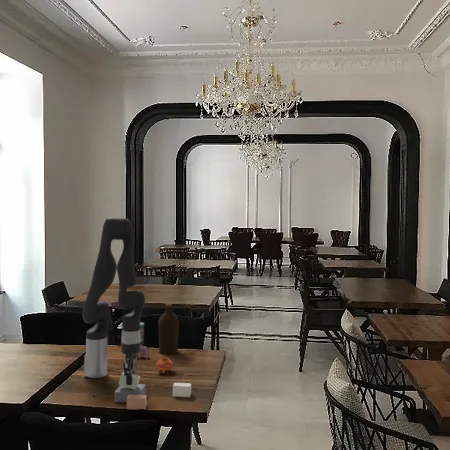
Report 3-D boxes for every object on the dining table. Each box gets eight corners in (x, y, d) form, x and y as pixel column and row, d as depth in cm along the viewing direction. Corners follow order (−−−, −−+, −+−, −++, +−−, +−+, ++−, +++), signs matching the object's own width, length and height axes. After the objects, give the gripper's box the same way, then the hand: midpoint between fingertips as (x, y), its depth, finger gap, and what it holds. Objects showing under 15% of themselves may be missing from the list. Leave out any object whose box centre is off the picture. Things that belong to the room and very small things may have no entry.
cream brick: (172, 396, 216) (172, 385, 216) (174, 393, 220) (174, 382, 219) (189, 397, 216) (189, 386, 215) (191, 394, 219) (191, 383, 219)
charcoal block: (114, 401, 209) (114, 392, 209) (121, 392, 219) (121, 383, 219) (139, 403, 208) (139, 393, 208) (145, 393, 218) (145, 384, 218)
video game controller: (148, 360, 267) (149, 346, 269) (148, 358, 262) (148, 344, 265) (129, 360, 266) (130, 346, 269) (128, 358, 262) (129, 344, 265)
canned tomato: (126, 344, 289) (126, 324, 288) (135, 340, 296) (135, 321, 295) (138, 346, 285) (138, 326, 285) (146, 342, 292) (147, 323, 291)
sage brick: (118, 384, 212) (121, 373, 211) (121, 381, 215) (124, 370, 215) (135, 389, 211) (138, 379, 211) (137, 386, 215) (140, 376, 214)
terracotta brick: (126, 409, 202) (126, 397, 202) (128, 405, 206) (128, 394, 206) (145, 410, 202) (145, 398, 202) (146, 406, 206) (146, 394, 205)
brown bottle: (165, 355, 269) (165, 307, 268) (154, 350, 278) (154, 303, 276) (182, 352, 276) (183, 304, 275) (171, 347, 284) (171, 301, 283)
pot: (169, 367, 252) (171, 354, 250) (174, 376, 245) (176, 362, 243) (153, 368, 248) (154, 355, 247) (157, 377, 242) (159, 364, 240)
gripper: (126, 335, 219) (126, 376, 220) (116, 345, 205) (116, 388, 206) (144, 336, 219) (143, 377, 220) (135, 346, 205) (135, 389, 206)
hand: (130, 382), depth 213 cm, fingers closed on sage brick, 3 cm apart
